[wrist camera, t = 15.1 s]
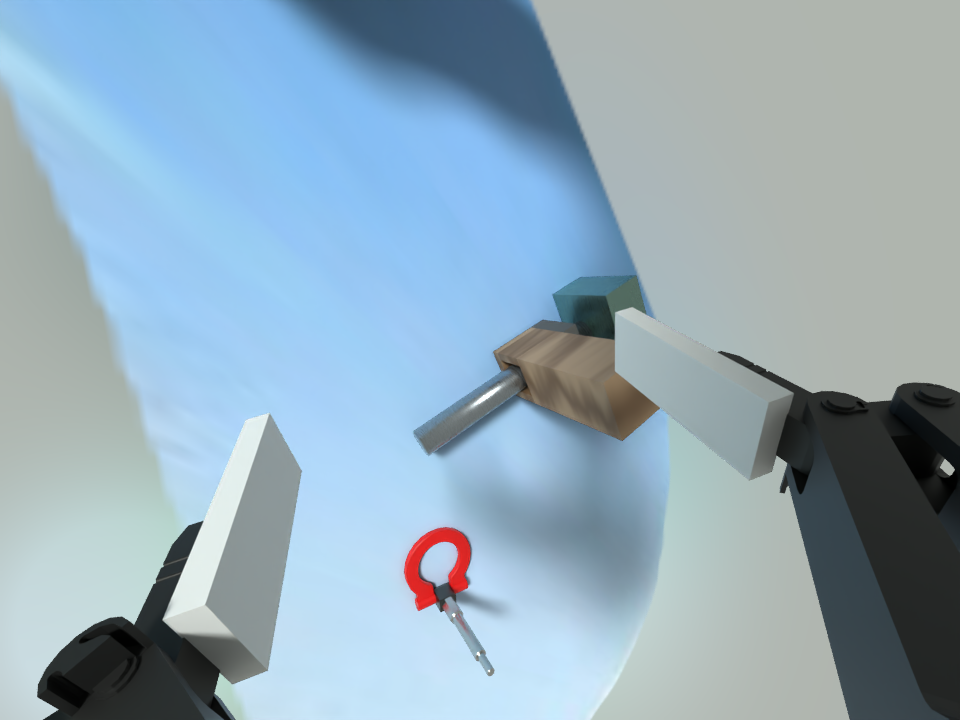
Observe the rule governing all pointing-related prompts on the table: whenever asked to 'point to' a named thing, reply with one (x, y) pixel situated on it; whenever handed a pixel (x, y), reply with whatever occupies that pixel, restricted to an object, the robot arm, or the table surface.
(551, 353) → the sleeve
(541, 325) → the collar
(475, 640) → the tow hook
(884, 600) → the robot arm
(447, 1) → the table surface
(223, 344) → the table surface
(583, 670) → the table surface
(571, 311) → the rod stand
